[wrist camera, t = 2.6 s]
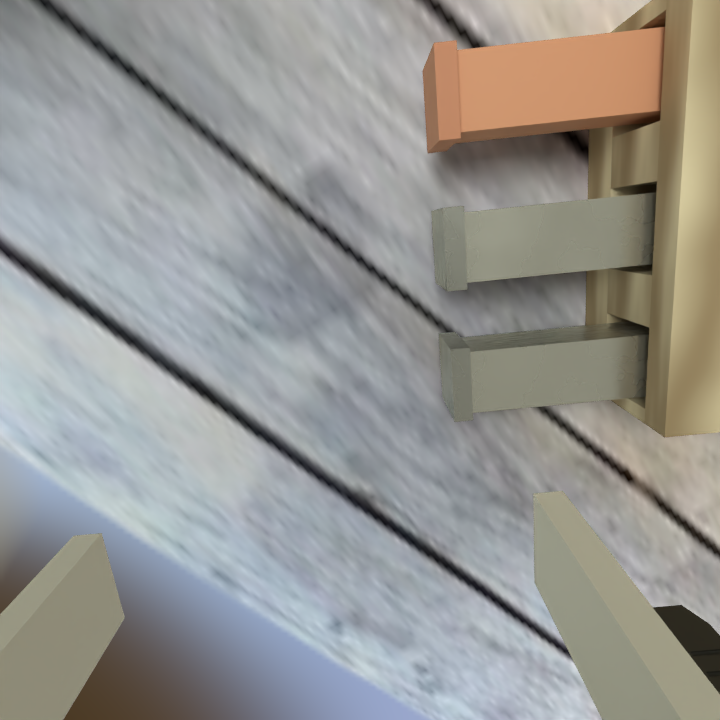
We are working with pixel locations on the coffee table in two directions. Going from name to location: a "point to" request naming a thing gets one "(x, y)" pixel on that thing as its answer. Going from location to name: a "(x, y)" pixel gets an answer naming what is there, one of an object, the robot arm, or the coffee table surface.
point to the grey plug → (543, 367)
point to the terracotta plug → (542, 86)
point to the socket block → (670, 223)
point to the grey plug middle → (542, 239)
